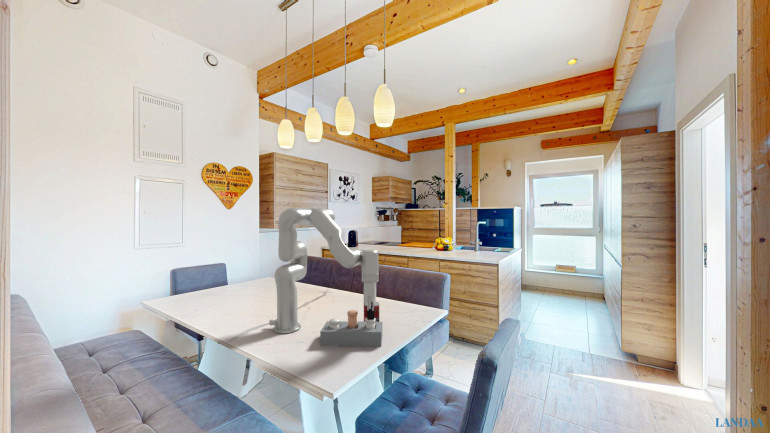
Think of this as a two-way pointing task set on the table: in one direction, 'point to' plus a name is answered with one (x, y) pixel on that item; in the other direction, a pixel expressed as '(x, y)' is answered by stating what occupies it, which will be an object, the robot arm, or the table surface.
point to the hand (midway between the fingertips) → (370, 318)
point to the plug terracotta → (352, 319)
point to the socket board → (351, 335)
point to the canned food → (375, 311)
